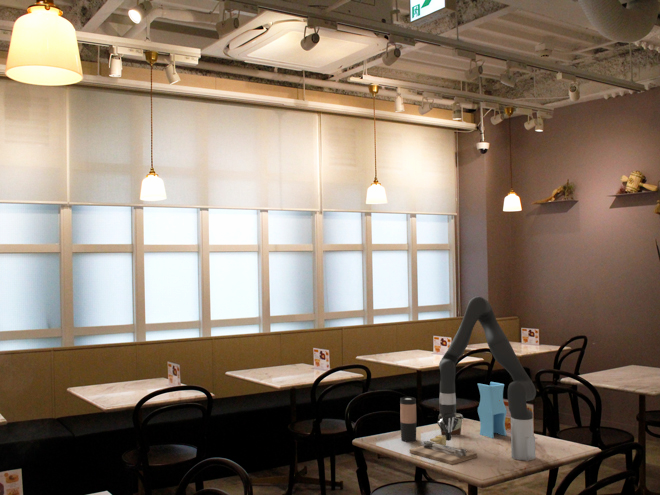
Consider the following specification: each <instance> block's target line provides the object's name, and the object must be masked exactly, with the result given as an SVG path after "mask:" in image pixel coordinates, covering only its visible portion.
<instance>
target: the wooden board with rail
mask: <svg viewBox="0 0 660 495" xmlns="http://www.w3.org/2000/svg"><path fill="white" fill-rule="evenodd" d="M447 446H448V447H450V446H449V445H447ZM451 447H452V448H455V449H459V450H455V453H454V452H451V451H447V450H444V449H440V448H436V447H433V446H429V445H426V444H423V445H421V446H418V447H414V448H411V449H409V454H412V453H413V455H416V456H419V457H423V458H428V459H430V460H434V461H439V462H442V463H445V464H449V465H455V464H458V463H461V462H464V461H465V462H466V461H467V460H472V459H475V458H478V454H477V452H472V451H468V450H467V449H466V448H462V447H461V448H457V447H453V446H451ZM460 450H463V453H461V451H460Z"/></svg>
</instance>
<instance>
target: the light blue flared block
mask: <svg viewBox="0 0 660 495" xmlns="http://www.w3.org/2000/svg"><path fill="white" fill-rule="evenodd" d="M477 387H478V390H479V395H480V398H479V405H478V407H477V413H478V417H479V421H480V429H479V435H480V436H484V437H486V436H487V438H491V439H494V435H495V434H497V433H498V434H497V435H501V436H504V437H506V435H507V436H508V434H507V431H506V426H505V425H506V417H507V413H508V412H507V408H506V405H505V402H504V387H505V384H504V383H500V382H494V381H490V383H489V385H488V384H483V383H477ZM499 400H500V401H499Z"/></svg>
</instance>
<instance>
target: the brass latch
mask: <svg viewBox="0 0 660 495" xmlns="http://www.w3.org/2000/svg"><path fill="white" fill-rule="evenodd" d="M429 441H430V442H433V443H437V444H441V445H444V446H447V440H446V436H445V435H441V434H438V435H436V436H435V437H433V438H432V437H431V438H430V440H429Z"/></svg>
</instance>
